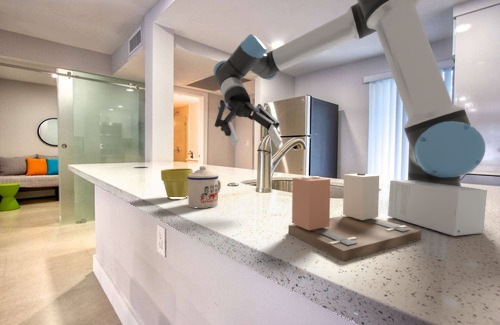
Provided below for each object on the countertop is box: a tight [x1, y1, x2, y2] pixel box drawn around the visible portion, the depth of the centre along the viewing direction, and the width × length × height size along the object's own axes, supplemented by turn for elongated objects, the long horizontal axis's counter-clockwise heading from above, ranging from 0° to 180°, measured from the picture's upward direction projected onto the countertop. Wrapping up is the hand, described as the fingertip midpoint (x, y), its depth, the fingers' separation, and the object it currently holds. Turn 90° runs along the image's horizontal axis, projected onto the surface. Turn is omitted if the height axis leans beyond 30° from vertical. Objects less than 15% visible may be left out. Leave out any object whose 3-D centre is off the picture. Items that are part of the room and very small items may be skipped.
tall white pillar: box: [342, 172, 380, 220], centre depth 54 cm, size 5×5×9 cm
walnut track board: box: [287, 215, 422, 262], centre depth 48 cm, size 20×14×2 cm
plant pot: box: [160, 167, 194, 198], centre depth 85 cm, size 10×10×10 cm
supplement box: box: [387, 179, 488, 237], centre depth 55 cm, size 9×9×15 cm
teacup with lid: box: [187, 165, 222, 209], centre depth 75 cm, size 12×9×12 cm
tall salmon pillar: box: [291, 175, 331, 230], centre depth 48 cm, size 5×5×9 cm
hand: (258, 143), depth 66 cm, fingers open, 12 cm apart
